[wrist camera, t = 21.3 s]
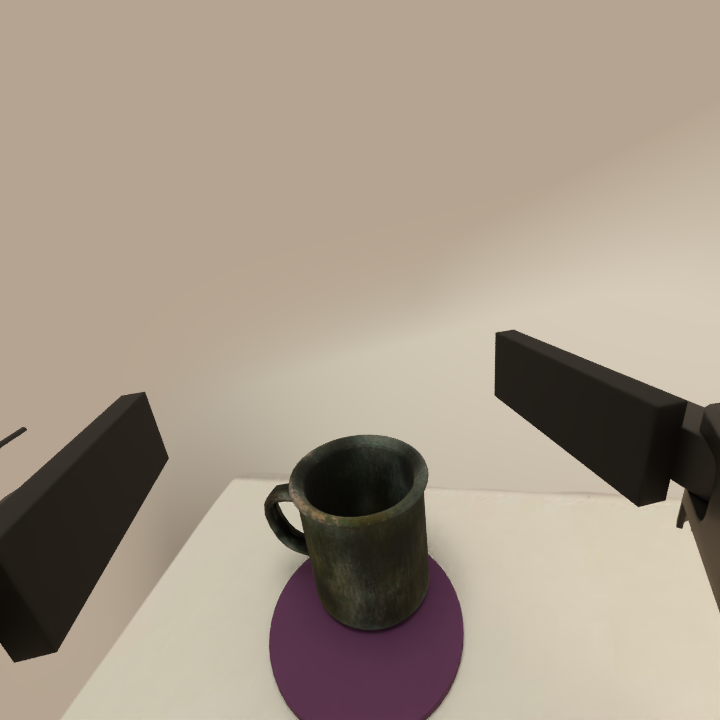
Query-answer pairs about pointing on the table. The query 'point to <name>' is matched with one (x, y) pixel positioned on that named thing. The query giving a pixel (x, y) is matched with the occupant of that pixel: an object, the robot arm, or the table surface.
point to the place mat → (365, 655)
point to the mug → (360, 527)
